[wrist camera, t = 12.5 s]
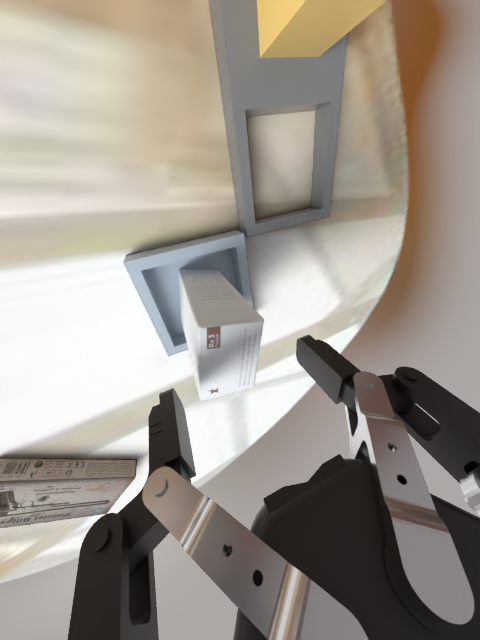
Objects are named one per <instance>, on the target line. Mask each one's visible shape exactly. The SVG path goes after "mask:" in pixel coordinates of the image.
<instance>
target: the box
mask: <svg viewBox="0 0 480 640" xmlns="http://www.w3.org/2000/svg"><path fill="white" fill-rule="evenodd" d="M136 465H137V460H112V459H111V460H106V459H105V460H104V459H103V460H98V459H97V460H94V459H93V460H91V459H86V460H85V459H82V460H80V459H74V460H73V459H72V460H71V459H70V460H68V459H52V460H51V459H41V460H40V459H0V528H7V527H12V526H22V525H30V524H34V523H41V522H45V523H46V522H51V521H56V520H64V519H71V518H79V517H87V516H94V515H100V514H106V513H107V512H108V511H109V510H110V509H111V507H112V506H113V505H114V503H115V502H116V501H117V500H118V498H119V497H120V495H122V493H123V492H124V491H125V490H126V488H127V487H128V486H129V485H130V483H131V482H132V481H133V480H134V478H135V476H136Z"/></svg>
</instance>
